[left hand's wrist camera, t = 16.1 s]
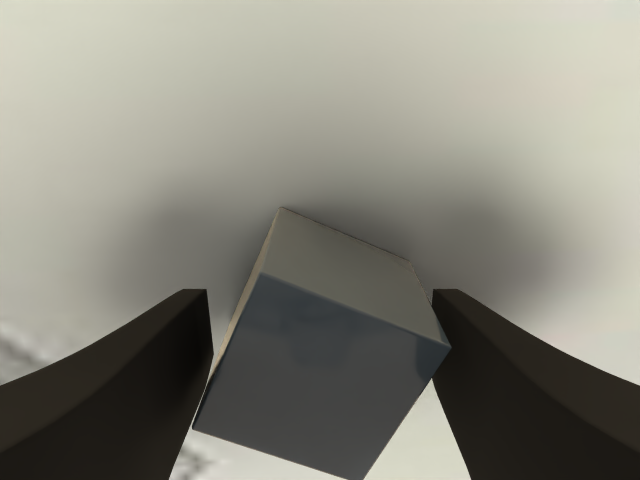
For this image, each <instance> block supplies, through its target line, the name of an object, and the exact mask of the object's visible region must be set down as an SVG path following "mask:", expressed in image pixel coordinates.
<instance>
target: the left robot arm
mask: <svg viewBox="0 0 640 480" xmlns="http://www.w3.org/2000/svg"><path fill="white" fill-rule="evenodd" d="M432 308H433V310H434V312H435V314H436V316H437V318H438V320H439V322H440V324H441V326H442V328H443V330H444V332H445V334H446V336H447V338H448V340H449V342H450V344H451V350H450V352H449V353H448V355H447V356H446V358H445V359H444V361H443V362H442V364H441V365H440V366H439V368H438V369H437V371H436V372H435V374H434V375H433V377H432V380H433V383H434V387H435V390H436V392H437V395H438V397H439V400H440V402H441V405H442V408H443V410H444V413H445V415H446V417H447V420H448V422H449V425H450V427H451V430H452V432H453V435H454V437H455V439H456V442H457V444H458V447H459V449H460V452H461V454H462V457H463V459H464V461H465V464H466V466H467V469H468V472H469V475H470V477H471V480H640V386H639V385H637V384H634V383H632V382H629V381H626V380H624V379H621V378H619V377H617V376H614V375H612V374H609V373H607V372H605V371H602V370H600V369H598V368H596V367H594V366H592V365H590V364H587V363H585V362H583V361H581V360H579V359H577V358H575V357H572V356H570V355H568V354H566V353H564V352H562V351H561V350H559V349H557V348H555V347H553V346H551V345H549V344H548V343H546V342H544V341H542V340H540V339H539V338H537V337H535V336H533V335H531V334H530V333H528V332H526V331H525V330H523V329H521V328H519V327H518V326H516V325H515V324H513V323H511V322H510V321H508V320H507V319H505V318H503V317H502V316H500V315H499V314H497V313H495V312H494V311H492V310H491V309H489V308H488V307H486V306H485V305H483V304H481V303H480V302H478V301H477V300H475V299H474V298H472V297H470V296H469V295H467V294H465V293H463V292H462V291H460V290H458V289H433V298H432ZM213 355H214V351H213V342H212V333H211V325H210V316H209V307H208V298H207V289H183V290H181V291H179V292H177V293H175V294H173V295H172V296H170V297H168V298H167V299H165V300H164V301H162V302H160V303H159V304H157V305H156V306H154V307H153V308H151V309H149V310H148V311H146V312H145V313H143V314H142V315H140V316H138V317H137V318H135V319H134V320H132V321H131V322H129V323H127V324H126V325H124V326H122V327H121V328H119V329H117V330H115V331H114V332H112V333H110V334H108V335H107V336H105V337H103V338H102V339H100V340H98V341H96V342H95V343H93V344H91V345H89V346H87V347H86V348H84V349H82V350H80V351H78V352H76V353H74V354H72V355H70V356H68V357H66V358H64V359H62V360H59V361H57V362H55V363H53V364H51V365H49V366H47V367H45V368H42V369H40V370H38V371H36V372H33V373H31V374H28V375H26V376H23V377H21V378H18V379H16V380H13V381H11V382H8V383H6V384H3V385H1V386H0V480H169V477H170V474H171V472H172V469H173V466H174V464H175V461H176V459H177V456H178V454H179V452H180V449H181V447H182V444H183V442H184V439H185V437H186V434H187V432H188V430H189V427H190V425H191V422H192V420H193V417H194V415H195V412H196V410H197V407H198V405H199V402H200V400H201V397H202V395H203V392H204V390H205V387H206V383H207V379H208V376H209V372H210V368H211V364H212V359H213Z"/></svg>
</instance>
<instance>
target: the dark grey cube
mask: <svg viewBox="0 0 640 480" xmlns="http://www.w3.org/2000/svg"><path fill="white" fill-rule="evenodd" d="M450 350H451V344H450V342H449V340H448V338H447V336H446V334H445V332H444V330H443V328H442V326H441V324H440V322H439V320H438V318H437V316H436V314H435V312H434V310H433V308H432V306H431V304H430V302H429V300H428V298H427V296H426V293H425V291H424V289H423V287H422V285H421V283H420V281H419V279H418V277H417V275H416V273H415V271H414V269H413V267H412V265H411V263H410V261H408V260H406V259H403V258H401V257H398V256H396V255H394V254H391V253H389V252H387V251H384V250H382V249H379V248H377V247H375V246H372V245H370V244H368V243H365V242H363V241H361V240H358V239H356V238H353V237H351V236H349V235H346V234H344V233H342V232H339V231H337V230H334V229H332V228H330V227H327V226H325V225H323V224H320V223H318V222H315V221H313V220H311V219H308V218H306V217H304V216H301V215H299V214H296V213H294V212H292V211H289V210H287V209H285V208H282V207H280V208H279V209H278V211H277V213H276V216H275V218H274V220H273V223H272V225H271V227H270V230H269V232H268V234H267V237H266V239H265V241H264V244H263V246H262V248H261V251H260V253H259V256H258V258H257V260H256V263H255V265H254V267H253V270H252V272H251V274H250V277H249V279H248V281H247V284H246V286H245V288H244V291H243V293H242V295H241V298H240V300H239V302H238V305H237V307H236V309H235V312H234V314H233V316H232V319H231V321H230V323H229V326H228V329H227V332H226V334H225V337H224V340H223V343H222V345H221V348H220V351H219V353H218V356H217V359H216V362H215V364H214V367H213V370H212V373H211V375H210V378H209V381H208V384H207V386H206V389H205V392H204V394H203V397H202V400H201V403H200V405H199V408H198V411H197V414H196V416H195V419H194V422H193V425H192V429H193V430H195V431H198V432H201V433H204V434H207V435H210V436H213V437H216V438H220V439H223V440H226V441H229V442H232V443H235V444H238V445H241V446H244V447H247V448H251V449H254V450H257V451H260V452H263V453H266V454H269V455H272V456H275V457H278V458H281V459H285V460H288V461H291V462H294V463H297V464H300V465H303V466H306V467H309V468H312V469H316V470H319V471H322V472H325V473H328V474H331V475H334V476H337V477H340V478H343V479H347V480H363V479H364V478H365V476H366V475H367V473H368V472H369V470H370V469H371V467H372V466H373V464H374V463H375V462H376V460H377V459H378V457H379V456H380V454H381V453H382V451H383V450H384V448H385V447H386V445H387V444H388V442H389V441H390V439H391V438H392V436H393V435H394V433H395V432H396V430H397V429H398V427H399V426H400V424H401V423H402V421H403V420H404V418H405V417H406V415H407V414H408V413H409V411H410V410H411V408H412V407H413V405H414V404H415V402H416V401H417V399H418V398H419V396H420V395H421V393H422V392H423V390H424V389H425V387H426V386H427V384H428V383H429V381H430V380H431V378H432V377H433V375H434V374H435V372H436V371H437V369H438V368H439V366H440V365H441V364H442V362H443V361H444V359H445V358H446V356H447V355H448V353H449V352H450Z"/></svg>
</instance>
